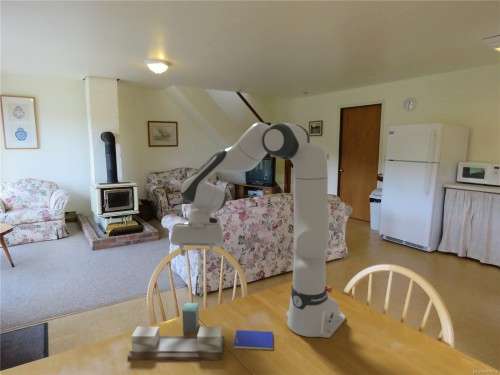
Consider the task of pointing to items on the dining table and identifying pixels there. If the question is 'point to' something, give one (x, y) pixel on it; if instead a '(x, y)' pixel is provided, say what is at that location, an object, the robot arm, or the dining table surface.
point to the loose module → (190, 317)
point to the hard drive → (253, 339)
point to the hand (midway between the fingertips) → (195, 255)
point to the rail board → (176, 345)
